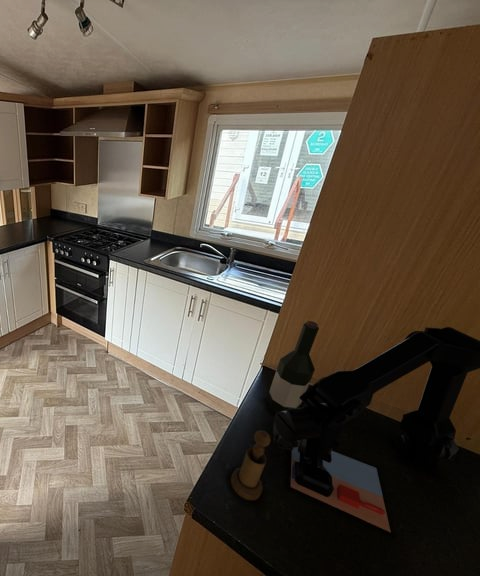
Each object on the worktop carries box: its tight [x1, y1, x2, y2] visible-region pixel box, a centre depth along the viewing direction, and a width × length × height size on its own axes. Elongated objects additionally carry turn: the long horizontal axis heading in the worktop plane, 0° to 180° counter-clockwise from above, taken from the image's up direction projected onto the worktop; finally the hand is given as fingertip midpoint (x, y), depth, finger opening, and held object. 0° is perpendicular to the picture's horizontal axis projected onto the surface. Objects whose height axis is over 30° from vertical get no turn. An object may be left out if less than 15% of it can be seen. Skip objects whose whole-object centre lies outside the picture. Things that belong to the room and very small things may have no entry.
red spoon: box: [337, 484, 385, 515], centre depth 68 cm, size 8×3×2 cm, turn 59°
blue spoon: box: [292, 463, 334, 490], centre depth 73 cm, size 8×3×2 cm, turn 59°
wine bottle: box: [265, 320, 320, 414], centre depth 87 cm, size 8×8×30 cm
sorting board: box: [290, 447, 392, 533], centre depth 74 cm, size 18×16×1 cm
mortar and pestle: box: [230, 429, 272, 501], centre depth 69 cm, size 7×6×18 cm
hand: (301, 474), depth 74 cm, fingers open, 5 cm apart
